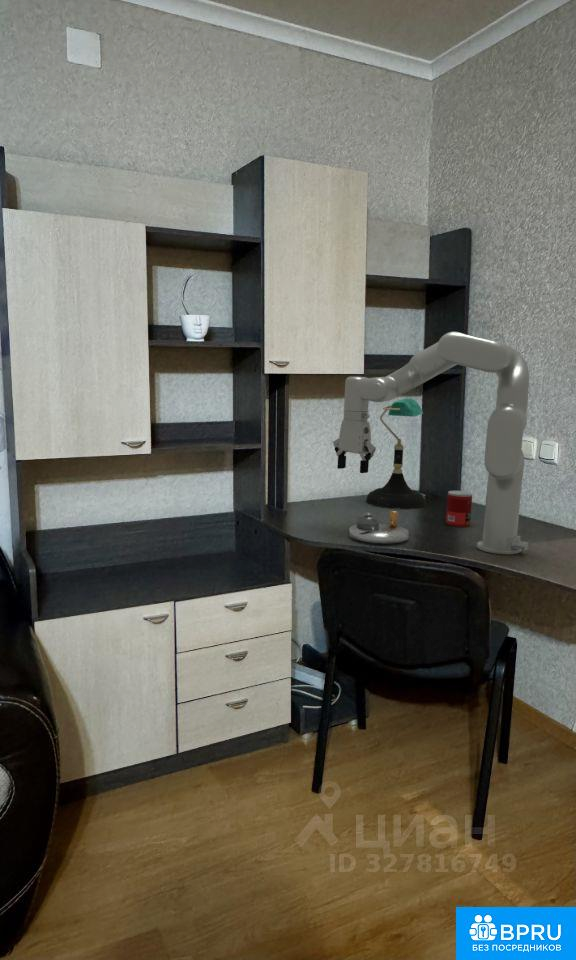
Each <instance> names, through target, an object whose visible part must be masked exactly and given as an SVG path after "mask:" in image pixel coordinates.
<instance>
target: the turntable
mask: <svg viewBox="0 0 576 960" xmlns="http://www.w3.org/2000/svg"><path fill="white" fill-rule="evenodd" d="M398 516H399V511H398V510H390V513H389V524H387V523H379V529H377V530H363V529H359V528H357V527H356V524H354V525H352V526H350V527H349V532H348V535H349V536H350V538H351V539H354V540H357V541H361V542H365V543H372V544H399V543H403V542H406V541H407V540H408V539H409V530H408V529H406V528H404V527H402V526H399V525H398Z"/></svg>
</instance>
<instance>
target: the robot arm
mask: <svg viewBox="0 0 576 960" xmlns="http://www.w3.org/2000/svg"><path fill="white" fill-rule="evenodd" d="M457 365H458V366H462V367H466V368H470V369H474V370H478V371H482V372H486V373H488V374H489V373H490V374H493V373H494V374H496V375H497V380H498V381H497V382H498V383H497V389H496V401H495V409H494V410H493V411H492V413H491V414H490V415H489V418H488V421H487V428H486V439H485V449H484V450H485V451H484V466H485V469H486V472H487V473H488V474H487V475H488V476H487V483H486V497H485V507H484V521H483V522H484V523H483V532H482V540H480V541H478V542H477V543H476V547H477V549H479V550H480V551H483V552H487V553H489V554H497V555H517V554H520V553H521V552H522V550H523V551H528V550H529V542H527V541H522V540H521V538H522V537H521V535H518V532H519V531H518V530H519V518H520V508H521V507H520V505H521V495H522V485H523V476H524V469H525V454H524V451H523V449H522V446H523V436H524V431H525V429H526V427H527V423H528V422H527V421H528V420H527V419H528V418H527V416H528V414H527V412H528V402H529V389H530V388H529V387H530V372H529V367H528V364H527V362H526V360H525V358H524V357H523V355H522V354H521V353H520V352H519V351H517V350H516V349H515V348H514V347H512V346H510V345H508V344H506V343H504V342H500V341H495V340H490V339H485V338H482V337H477V336H472V335H468V334H466V333H463V332H459V331H450V332H447V333H444V335H442V336H441V337H440V338H439V340H438V341H436V343H434V344H432V345H430V346H428V347H427V348H425V349H423V350H421V351H419V352H417V353H415V354H414V355H413V356H412V357H411V358H410V360H409V362H407V363H406V364H405V365H404V366H402V367H401V368H399V369H397V370H395V371H393V372H392V373H390V374H388V375H386V376H380V377H379V376H376V377H367V376H348V377H347V378H346V379H345V384H344V400H343V401H344V403H343V419H342V420H341V425H340V429H339V438H337V439H335V440H334V441H332V444H333V447H334V451H335V453H336V456H337V465H336V467H337V469H339V470H340V469H346V467H347V466H346V464H347V455H346V454H347V453H353V454H359V456H360V459H361V460H360V461H359V462H360V463H359V473H360V474H367V473H368V472H369V465H370V463H369V462H370V461H371V459H372V458H373V456H374V454H375V451H376V450H377V448H376V446H374V445H373V444H372V437H371V435H372V434H371V433H372V432H371V424H370V422H369V421H368V420H369V418H370V414H369V402H375V403H384V402H389V401H392V400H394V399H396V398H398V397H400V396H403V395H404V394H406V393H408V392H409V391H411V390H414V389H415V388H416V387H418V386H420V385H422V384H424V383H426V382H427V381H430V380H431V379H433V378H435V377H436V376H438V375H440V374H442V373H444V372H446V371H448V370H450V369H452V368H454V367H455V366H457Z"/></svg>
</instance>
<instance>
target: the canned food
mask: <svg viewBox="0 0 576 960" xmlns="http://www.w3.org/2000/svg"><path fill="white" fill-rule="evenodd" d="M472 506H473V493H472V492H470V491H465V490H449V491H448V492H447V500H446V515H445V517H446V518H445V519H446V520H445V522H446V524H447V525H448V526H451V527H456V528H467V527H469V526H470V524H471V517H472Z"/></svg>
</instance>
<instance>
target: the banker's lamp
mask: <svg viewBox="0 0 576 960" xmlns="http://www.w3.org/2000/svg"><path fill="white" fill-rule="evenodd" d="M382 410H383V412H382V413H381V415H380V416H379V420H380V422H381V423H382V425H384V427H385V428H386V429H387V431H388V432H390V434H391V435H392V436H393V437H394V438H395V439H396V440H397V443H396V444H395V445H394V447H393V449H394V450H393V451H394V453H393V465H392V466H393V470H392V473H391V476H390V478H389V479H388V481H387V482H386V484H384V486H383V487H379V488H375V489H374V490H372V491H370V492H369V493H368V494H367V496H366V500H365V502H366V503H367V504H369V505H371V504H372V505H371V506H374V505H375V507H378V506H380V507H379V508H384V507H388V508H387V509H394V508H400V509H399V510H410V508H414V509H419V508H423V506H424V507H425V506H427V501H426V496H424V494H421V493H420V492H419V491H418V490H415V489H412V488H410V487H409V485H408V483H407V481H406V479H405V477H404V474H403V469H402V468H403V465H404V464H403V460H404V456H403V455H404V445H403V444H402V439H401V438H399V437H398V436H397V434H396V433H394V432H393V430H392V428H390V427H389V425H388V424H386V422H385V420H383V416H384V415H385V414H386V412H387V411H388V414H387V416H394V417H396V416H397V417H418V416H420V415H423V414H424V412H423V410H422V408H421V406H420V405H419V402H417V401H416V400H415V399H413V398H409V397H408V398H402V399H399V400H396V401H394V402H392V404H391V405H387V406H384V407H382Z"/></svg>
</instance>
